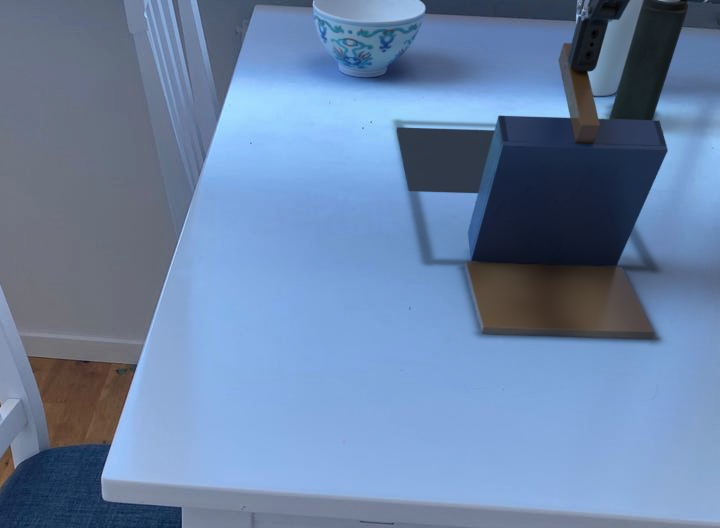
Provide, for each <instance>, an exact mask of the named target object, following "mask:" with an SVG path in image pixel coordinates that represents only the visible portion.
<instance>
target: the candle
mask: <svg viewBox="0 0 720 528" xmlns="http://www.w3.org/2000/svg"><path fill="white" fill-rule="evenodd" d="M688 8H689V4H688V0H644V1H643V3H642V6H641V10H640V13H639V17H638V20H637V24H636V27H635V31H634V34H633V38H632V41H631V45H630V48H629V52H628V55H627V59H626V62H625V66H624V69H623V73H622V76H621V80H620V83H619V85H618V88H617V90H616V92H615V98H614V101H613V104H612V108H611V111H610V115H609V117H608V119H625V120H654V116H655V114H656V110H657V107H658V104H659V100H660V98H661V94H662V91H663V88H664V85H665V82H666V79H667V76H668V73H669V70H670V67H671V63H672V60H673V57H674V54H675V51H676V48H677V45H678V42H679V38H680V35H681V32H682V30H683V26H684V24H685V19H686V17H687V14H688V10H689V9H688Z"/></svg>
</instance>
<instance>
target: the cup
mask: <svg viewBox="0 0 720 528" xmlns="http://www.w3.org/2000/svg"><path fill="white" fill-rule="evenodd" d="M578 1H579V0H577V1H576V2H577V3H578ZM643 1H644V0H630V1H629V3H628V5H627V7H626V8H625V10H624V12H623V14H622V16H621V17H620V19H619V20H612V22H608V26H607V29H606V33H605V37H604V40H603V44H602V48H601V51H600V55H599V59H598V62H597V66H596V68H595V69H594V70H593V71H590V72H588V76H589V80H590V84H591V89H592V93H593V97H608V96H611V95H614V94H616V93H617V90H618V86H619V83H620V80H621V76H622V73H623V69H624V66H625V62H626V59H627V55H628V52H629V48H630V45H631V41H632V38H633V34H634V31H635V27H636V24H637V20H638V17H639V13H640V10H641V6H642V3H643ZM577 3H576V4H577ZM578 16H581V15H577V13H576V16H575V25H576V24H577V20H578Z"/></svg>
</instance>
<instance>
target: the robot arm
mask: <svg viewBox="0 0 720 528" xmlns="http://www.w3.org/2000/svg"><path fill="white" fill-rule="evenodd" d="M629 1H630V0H579V1H578V0H577V2H578V3H576V14H577V15H581V16H578V20H577V24H576V23H575V29H574V33H573V36H572V41H571V43H572V44H571V48H570V52H569V56H568V63H569V65H570V67H571V69H572V70H573V71H587V72H590V71H593V70H594V69H595V68H596V66H597V62H598V59H599V55H600V51H601V48H602V44H603V40H604V37H605V33H606V29H607V26H608V22H612V20H619V19H620V17H621V16H622V14H623V12H624V10H625V8H626V7H627V5H628V3H629Z"/></svg>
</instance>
